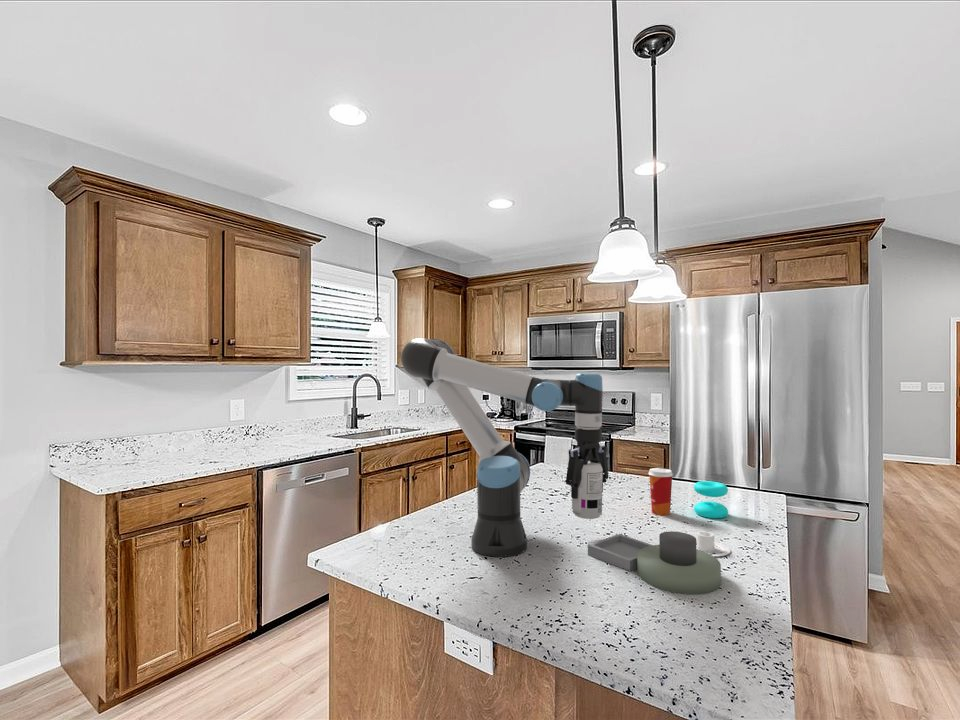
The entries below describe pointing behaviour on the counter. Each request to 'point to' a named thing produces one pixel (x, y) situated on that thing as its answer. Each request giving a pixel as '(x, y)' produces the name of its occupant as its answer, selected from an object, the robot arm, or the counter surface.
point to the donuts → (709, 507)
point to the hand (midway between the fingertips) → (587, 506)
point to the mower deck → (663, 561)
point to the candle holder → (709, 543)
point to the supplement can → (591, 491)
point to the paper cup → (660, 490)
